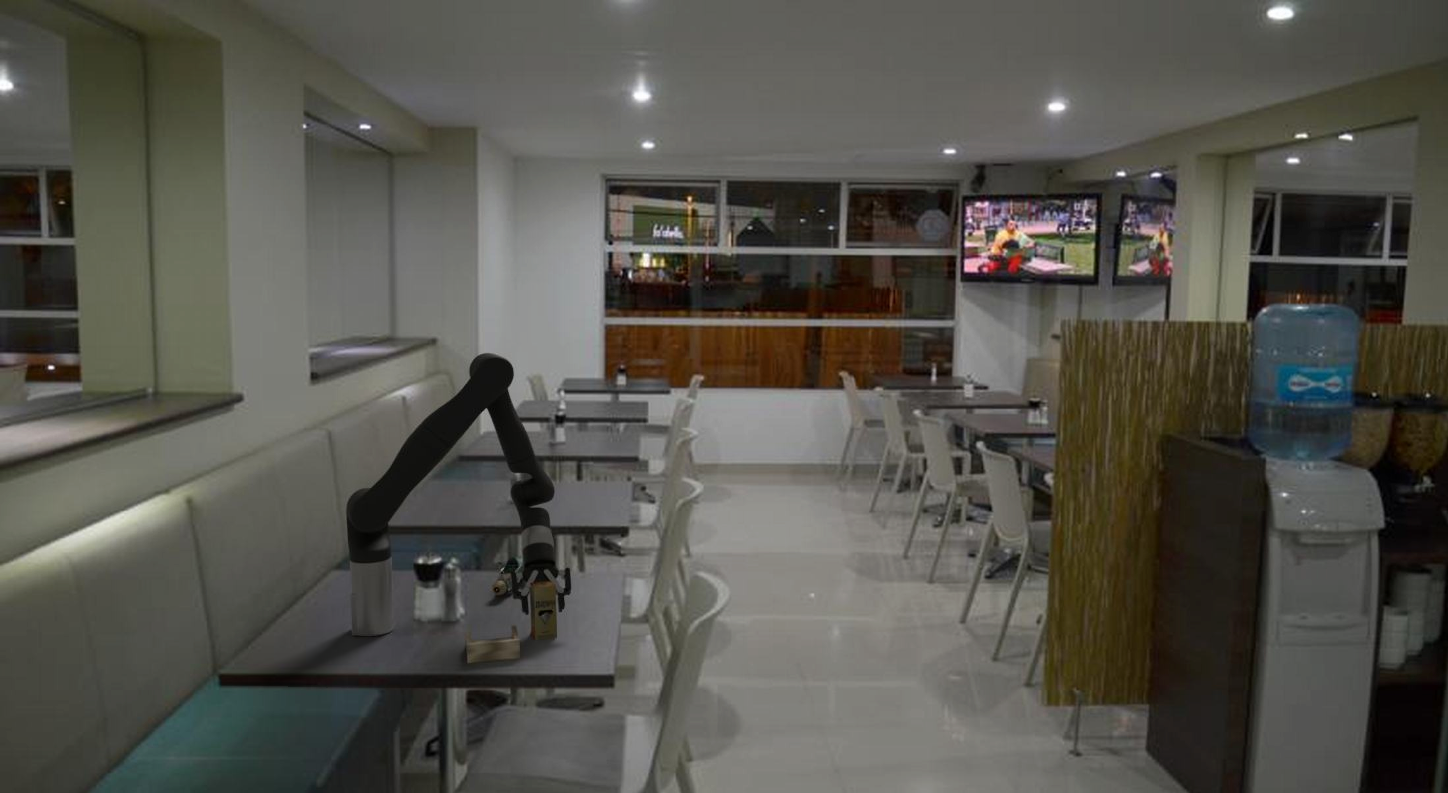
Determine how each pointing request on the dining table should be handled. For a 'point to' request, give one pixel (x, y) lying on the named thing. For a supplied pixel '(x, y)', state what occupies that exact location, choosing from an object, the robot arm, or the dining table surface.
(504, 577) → the hoverbike
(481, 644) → the bay
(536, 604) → the shoe polish box
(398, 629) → the dining table surface
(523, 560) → the robot arm
